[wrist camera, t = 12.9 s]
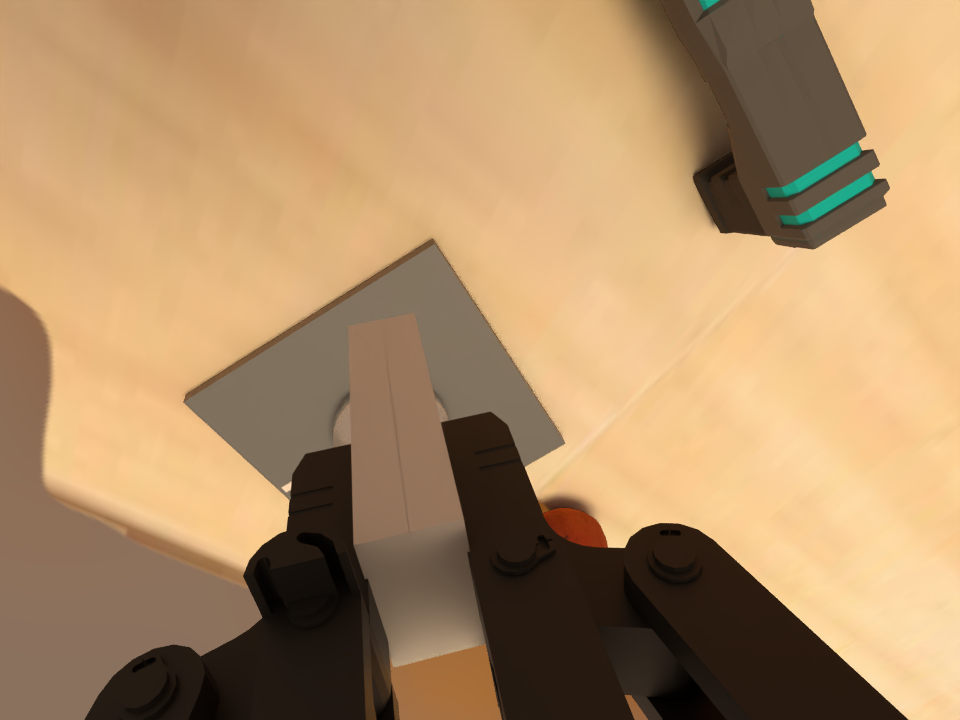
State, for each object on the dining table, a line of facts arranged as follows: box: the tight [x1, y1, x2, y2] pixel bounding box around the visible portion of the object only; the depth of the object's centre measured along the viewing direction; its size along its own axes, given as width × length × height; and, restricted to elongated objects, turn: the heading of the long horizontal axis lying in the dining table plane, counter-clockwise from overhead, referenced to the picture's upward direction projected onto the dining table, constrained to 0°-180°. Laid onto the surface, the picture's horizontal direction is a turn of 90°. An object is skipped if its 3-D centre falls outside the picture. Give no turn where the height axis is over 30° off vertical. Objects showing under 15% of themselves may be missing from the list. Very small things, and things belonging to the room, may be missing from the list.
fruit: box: [543, 508, 608, 548], centre depth 64 cm, size 9×9×8 cm
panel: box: [183, 239, 565, 500], centre depth 56 cm, size 24×24×1 cm
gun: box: [660, 0, 890, 249], centre depth 42 cm, size 7×29×15 cm, turn 30°
